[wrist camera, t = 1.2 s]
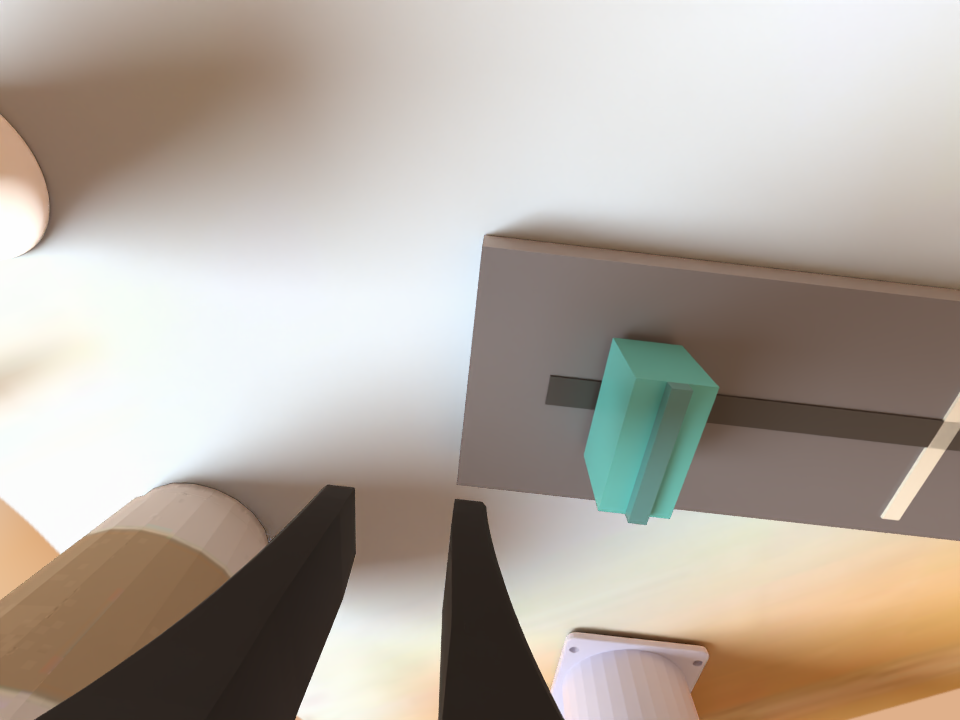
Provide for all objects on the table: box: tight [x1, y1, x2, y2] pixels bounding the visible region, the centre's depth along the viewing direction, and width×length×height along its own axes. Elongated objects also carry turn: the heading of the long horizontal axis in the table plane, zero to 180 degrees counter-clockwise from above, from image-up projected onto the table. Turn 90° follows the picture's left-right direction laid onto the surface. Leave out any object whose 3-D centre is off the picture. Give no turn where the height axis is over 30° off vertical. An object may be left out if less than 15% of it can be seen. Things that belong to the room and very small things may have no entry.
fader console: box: [457, 235, 960, 541], centre depth 18 cm, size 10×24×2 cm, turn 84°
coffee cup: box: [0, 483, 268, 720], centre depth 17 cm, size 11×11×15 cm
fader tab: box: [584, 338, 719, 525], centre depth 15 cm, size 5×2×3 cm, turn 174°
